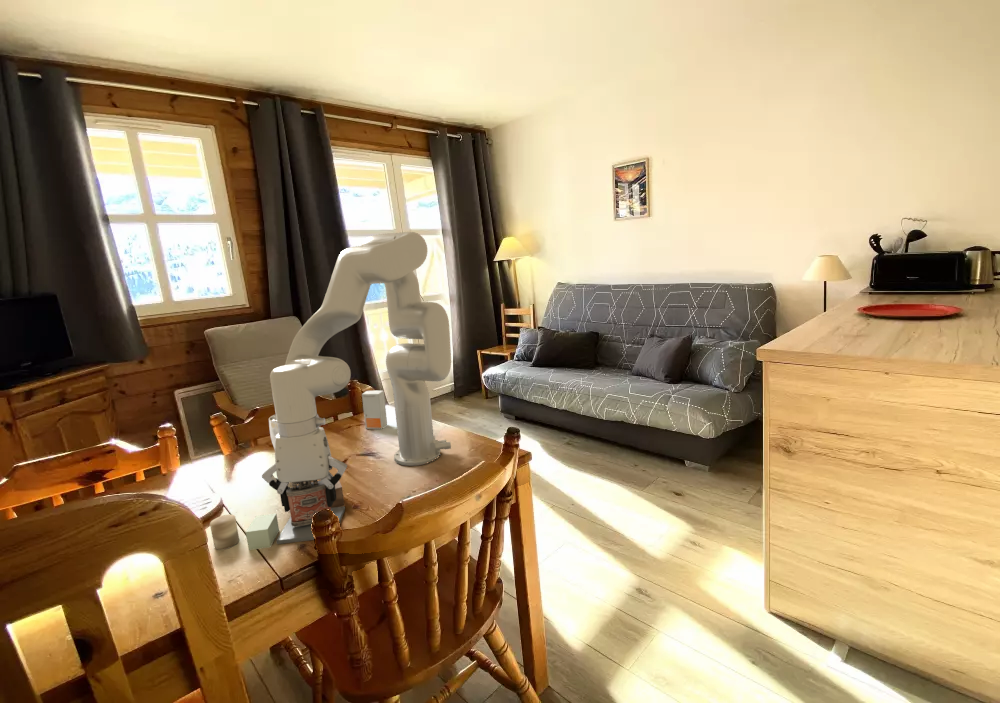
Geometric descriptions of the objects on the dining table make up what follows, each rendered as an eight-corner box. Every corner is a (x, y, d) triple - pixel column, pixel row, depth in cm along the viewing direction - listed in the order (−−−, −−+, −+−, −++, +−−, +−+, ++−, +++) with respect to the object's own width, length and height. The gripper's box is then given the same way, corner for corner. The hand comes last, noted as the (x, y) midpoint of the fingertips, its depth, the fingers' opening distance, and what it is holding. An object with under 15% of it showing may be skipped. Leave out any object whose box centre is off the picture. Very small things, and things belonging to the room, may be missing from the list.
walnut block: (341, 497, 114) (338, 479, 113) (344, 505, 110) (342, 487, 109) (321, 502, 112) (318, 484, 111) (323, 511, 108) (320, 492, 107)
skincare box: (365, 429, 158) (361, 394, 156) (370, 424, 162) (366, 390, 160) (382, 429, 157) (378, 393, 155) (388, 424, 161) (384, 390, 159)
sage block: (276, 513, 100) (255, 516, 99) (267, 529, 94) (245, 532, 94) (279, 531, 101) (258, 533, 100) (270, 547, 95) (248, 550, 94)
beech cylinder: (242, 535, 100) (238, 513, 99) (234, 547, 95) (230, 524, 94) (219, 538, 99) (215, 516, 98) (210, 551, 95) (205, 527, 94)
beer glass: (294, 475, 127) (285, 421, 124) (270, 474, 128) (261, 420, 125) (309, 464, 133) (301, 412, 130) (286, 463, 135) (278, 411, 132)
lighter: (291, 528, 98) (284, 483, 96) (291, 520, 101) (284, 476, 99) (333, 518, 101) (326, 473, 99) (331, 510, 104) (325, 467, 102)
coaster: (345, 509, 108) (344, 506, 107) (334, 537, 97) (333, 533, 97) (294, 515, 106) (293, 511, 106) (276, 544, 96) (276, 540, 96)
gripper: (346, 416, 102) (356, 493, 105) (260, 423, 100) (273, 501, 104) (338, 428, 94) (349, 510, 98) (245, 437, 93) (259, 520, 96)
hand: (310, 505), depth 101 cm, fingers closed on lighter, 8 cm apart
